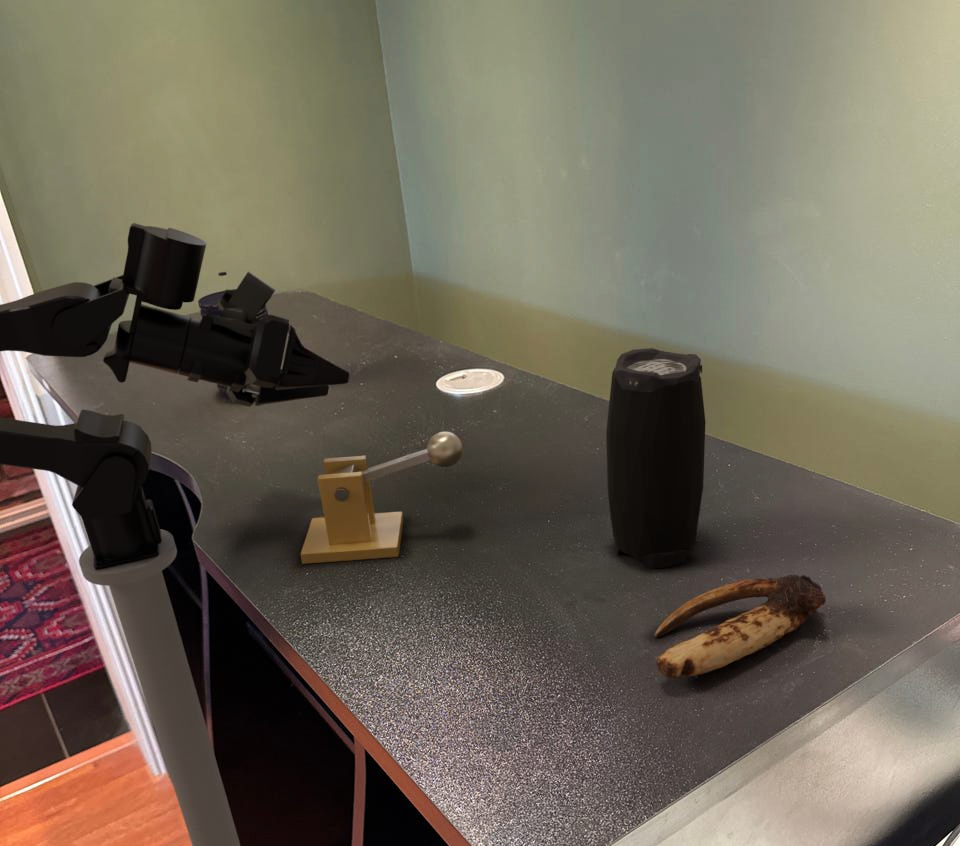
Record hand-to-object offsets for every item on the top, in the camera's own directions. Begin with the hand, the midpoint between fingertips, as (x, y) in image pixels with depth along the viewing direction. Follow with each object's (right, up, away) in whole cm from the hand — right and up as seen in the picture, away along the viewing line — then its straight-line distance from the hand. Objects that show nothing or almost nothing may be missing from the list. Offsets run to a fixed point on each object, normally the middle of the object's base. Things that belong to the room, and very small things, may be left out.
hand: (337, 384), depth 96 cm
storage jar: (-21, +6, +48) cm, 53 cm away
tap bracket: (+1, -16, +2) cm, 17 cm away
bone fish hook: (+36, -25, -18) cm, 47 cm away
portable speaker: (+32, -17, -4) cm, 37 cm away
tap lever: (+7, -10, -2) cm, 12 cm away
